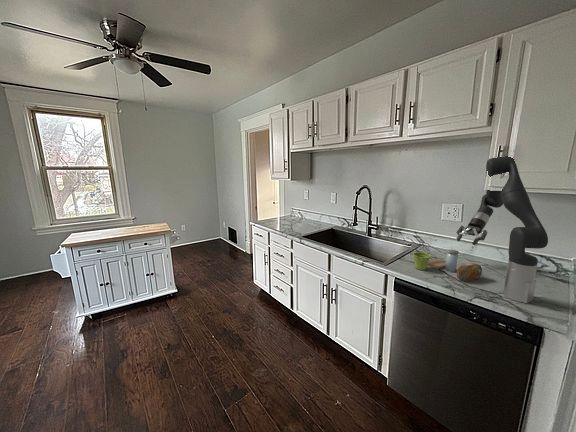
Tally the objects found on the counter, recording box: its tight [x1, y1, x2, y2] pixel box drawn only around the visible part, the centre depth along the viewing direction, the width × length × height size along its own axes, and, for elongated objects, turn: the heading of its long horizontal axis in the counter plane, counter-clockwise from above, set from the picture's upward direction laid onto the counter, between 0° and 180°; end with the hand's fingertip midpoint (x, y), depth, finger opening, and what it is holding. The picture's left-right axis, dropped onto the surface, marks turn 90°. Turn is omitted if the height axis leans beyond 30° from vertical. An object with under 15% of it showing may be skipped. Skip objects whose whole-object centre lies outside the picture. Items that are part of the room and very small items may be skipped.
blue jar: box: [444, 248, 460, 273], centre depth 140 cm, size 6×6×12 cm
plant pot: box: [412, 251, 432, 271], centre depth 144 cm, size 9×9×9 cm
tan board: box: [427, 258, 446, 270], centre depth 149 cm, size 10×12×1 cm
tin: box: [456, 262, 483, 282], centre depth 129 cm, size 15×3×8 cm, turn 105°
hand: (465, 242), depth 143 cm, fingers open, 8 cm apart
